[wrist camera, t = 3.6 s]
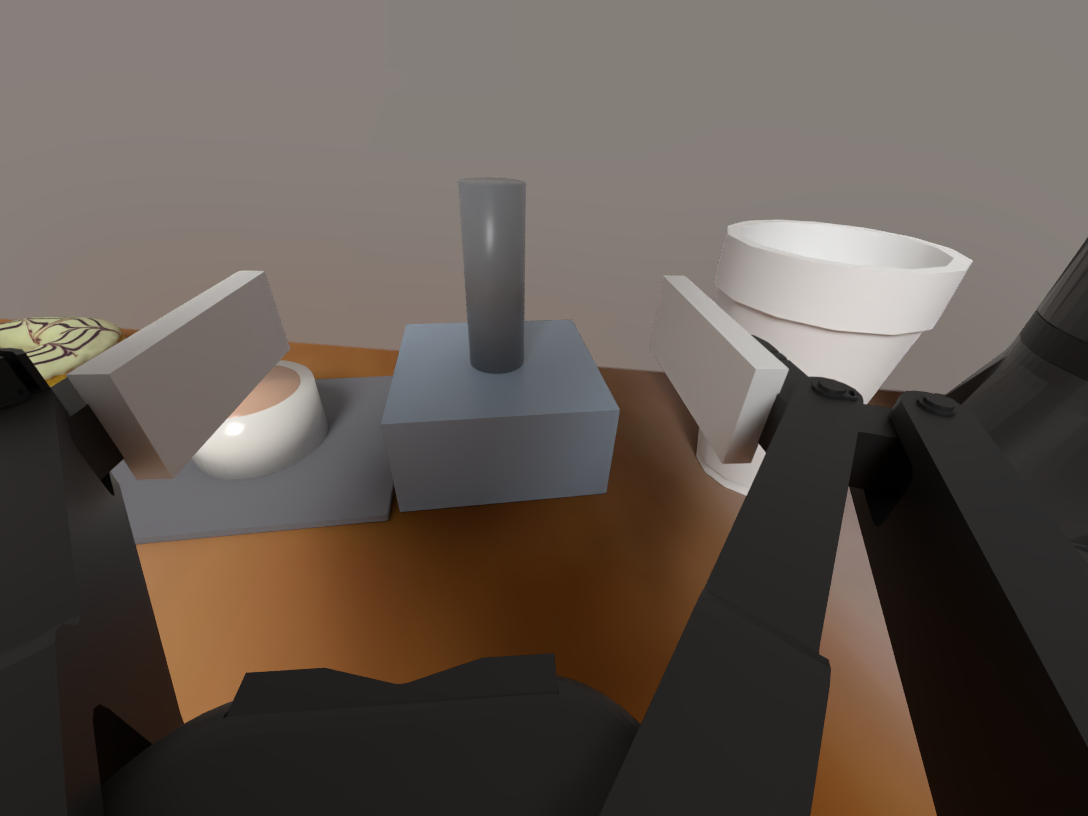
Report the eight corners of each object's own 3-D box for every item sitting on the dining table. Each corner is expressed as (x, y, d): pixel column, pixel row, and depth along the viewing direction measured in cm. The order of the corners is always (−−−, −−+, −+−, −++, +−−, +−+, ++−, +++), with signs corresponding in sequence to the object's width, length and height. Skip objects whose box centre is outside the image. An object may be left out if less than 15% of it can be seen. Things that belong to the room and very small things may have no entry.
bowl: (339, 403, 29) (326, 357, 27) (310, 474, 24) (291, 421, 22) (227, 409, 28) (205, 361, 26) (167, 485, 23) (134, 431, 21)
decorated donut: (-123, 420, 27) (-177, 367, 25) (61, 346, 36) (32, 302, 34) (16, 441, 26) (-28, 387, 24) (171, 359, 35) (149, 315, 33)
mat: (413, 379, 33) (412, 375, 33) (388, 520, 22) (387, 515, 21) (181, 390, 31) (179, 385, 30) (16, 555, 19) (10, 549, 19)
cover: (566, 389, 33) (583, 171, 25) (606, 493, 24) (653, 205, 16) (417, 396, 31) (382, 166, 23) (399, 512, 22) (331, 201, 14)
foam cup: (679, 405, 31) (728, 213, 24) (819, 436, 29) (922, 231, 22) (663, 493, 24) (727, 253, 17) (850, 544, 22) (1022, 288, 14)
